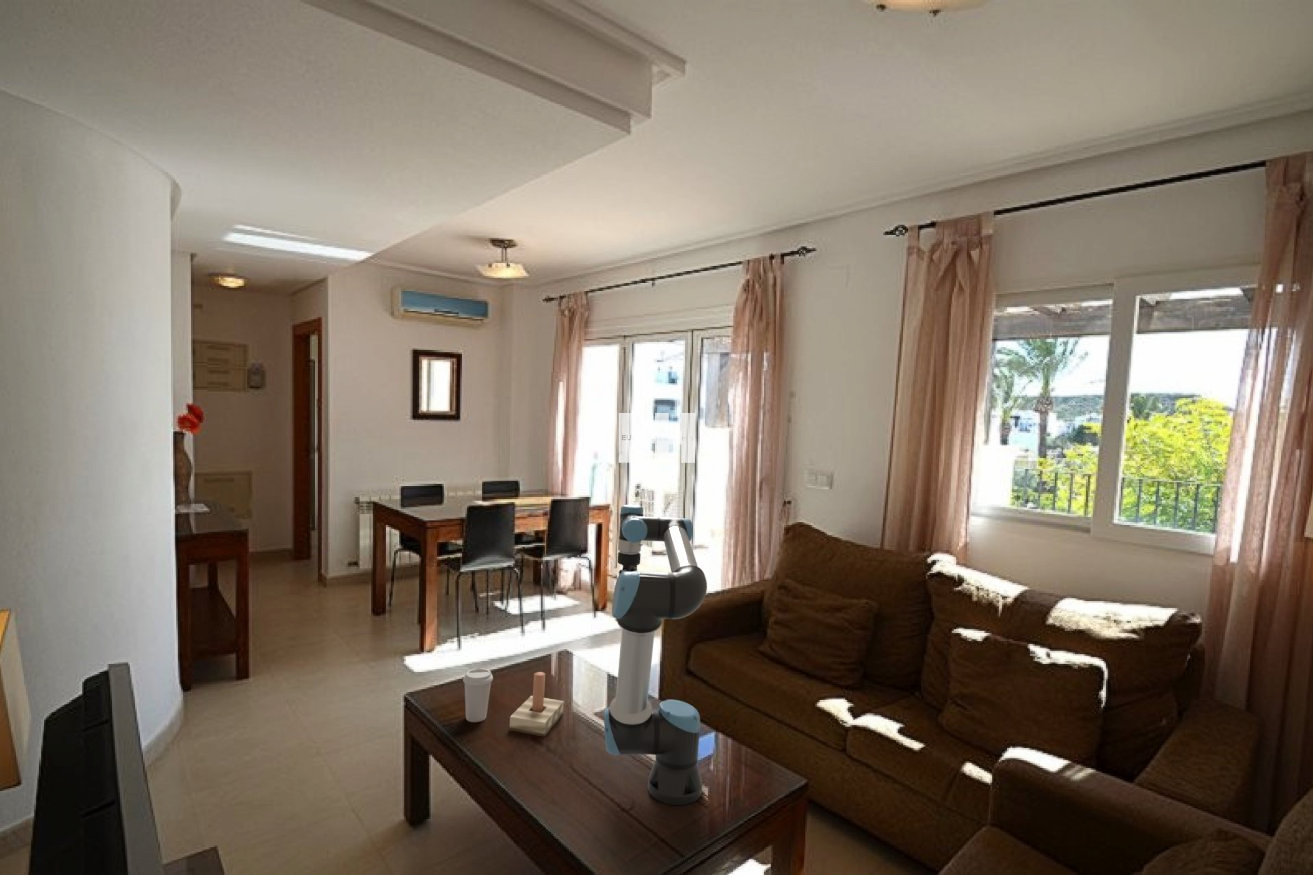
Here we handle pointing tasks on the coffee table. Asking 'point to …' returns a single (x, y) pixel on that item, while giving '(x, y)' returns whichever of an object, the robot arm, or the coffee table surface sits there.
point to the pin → (538, 692)
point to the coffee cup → (477, 693)
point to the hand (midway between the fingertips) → (625, 615)
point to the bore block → (536, 717)
